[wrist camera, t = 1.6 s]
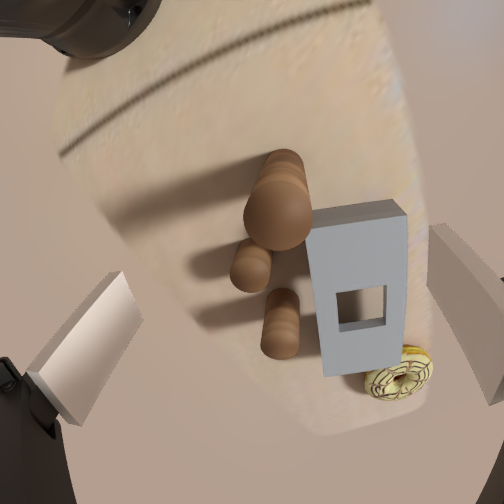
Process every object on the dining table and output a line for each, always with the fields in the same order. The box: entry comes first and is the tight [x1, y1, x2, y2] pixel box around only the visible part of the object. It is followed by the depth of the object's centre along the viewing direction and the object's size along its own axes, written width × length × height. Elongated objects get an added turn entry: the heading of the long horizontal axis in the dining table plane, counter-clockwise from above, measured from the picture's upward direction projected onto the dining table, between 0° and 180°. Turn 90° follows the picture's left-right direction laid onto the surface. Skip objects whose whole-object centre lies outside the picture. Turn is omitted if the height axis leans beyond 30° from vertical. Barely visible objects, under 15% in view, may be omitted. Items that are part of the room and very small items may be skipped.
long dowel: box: [243, 149, 313, 251], centre depth 25 cm, size 4×4×15 cm
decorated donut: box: [364, 345, 433, 401], centre depth 40 cm, size 10×11×4 cm
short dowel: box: [230, 238, 273, 293], centre depth 34 cm, size 4×4×5 cm
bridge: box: [305, 199, 408, 377], centre depth 34 cm, size 20×10×5 cm, turn 12°
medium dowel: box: [260, 288, 299, 360], centre depth 35 cm, size 4×4×8 cm
